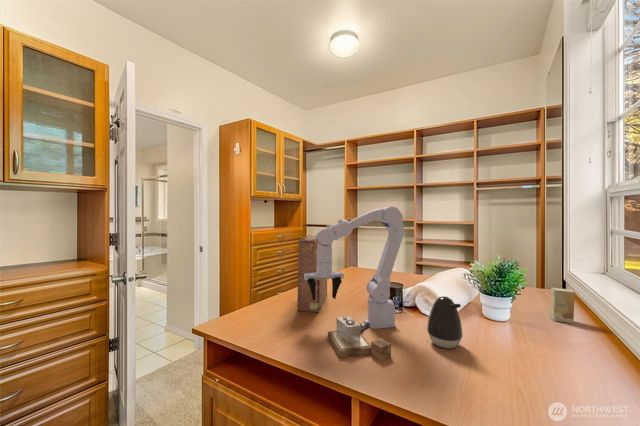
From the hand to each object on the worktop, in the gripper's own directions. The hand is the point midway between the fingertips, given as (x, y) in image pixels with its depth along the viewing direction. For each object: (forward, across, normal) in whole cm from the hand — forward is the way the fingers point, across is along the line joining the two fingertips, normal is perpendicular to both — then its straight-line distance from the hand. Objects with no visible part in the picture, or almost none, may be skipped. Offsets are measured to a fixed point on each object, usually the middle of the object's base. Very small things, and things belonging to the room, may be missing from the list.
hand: (323, 298), depth 100 cm
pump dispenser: (+10, -34, +22) cm, 42 cm away
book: (+10, -2, -26) cm, 28 cm away
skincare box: (+10, -93, +15) cm, 95 cm away
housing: (+8, -4, +15) cm, 18 cm away
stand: (+10, -4, +16) cm, 19 cm away
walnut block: (+10, -11, +24) cm, 28 cm away
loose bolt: (+10, -14, +6) cm, 18 cm away
